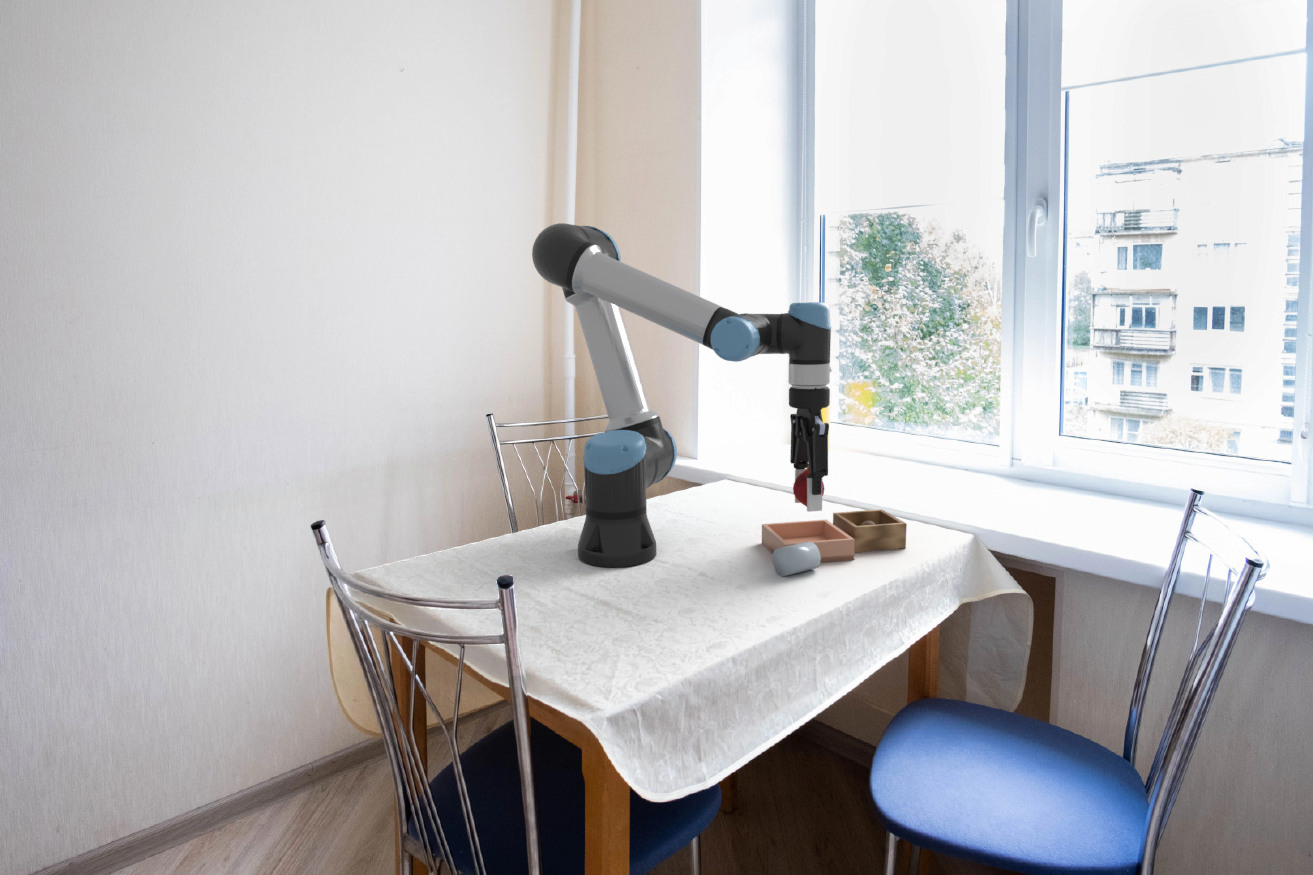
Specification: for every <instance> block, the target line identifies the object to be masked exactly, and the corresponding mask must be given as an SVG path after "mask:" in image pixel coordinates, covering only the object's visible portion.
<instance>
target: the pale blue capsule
mask: <svg viewBox="0 0 1313 875" xmlns="http://www.w3.org/2000/svg"><path fill="white" fill-rule="evenodd" d="M820 560H821V557H820V552H819V549H818V548H817V546H816V545H815V544H814V543H813V542H810V541H809V542H804V543H799V544H795V545H790V546H786V547H781V548H777V549H775V550H774V552H773V554H772V556H771V561H772V566H773V568H774V571H775V572H776V573H777V574H778V575H779V576H780V577H786V576H790V575H794V574H799V573H802V572H807V571H812V570H815V569H818V567H819V566H820V564H821V563H820Z"/></svg>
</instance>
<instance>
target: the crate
mask: <svg viewBox="0 0 1313 875" xmlns="http://www.w3.org/2000/svg"><path fill="white" fill-rule="evenodd" d="M864 521H872V522H874V523H875V524H876V525H864V526H860V525H861V524H862V523H863V522H864ZM832 524H833V525H835V526H836V527H838V528H839V529H841V530H842V531H843V532H845V533H846V534H848V535H849V536H851V537H852V538H853V539H855V546H854V553H866V552H877V551H889V550H891V549H892V550H900V549H899V548H904V549H907V548H906V546H907V526H908V524H907V523H906V522H904V521H903V520H901V519H899V518H897V517H896V516H894V515H892V514H890V513H889V512H887V511H885V510H883V508H881V509H871V510H870V509H869V510H853V511H841V512H840V511H839V512H833V513H832Z"/></svg>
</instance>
